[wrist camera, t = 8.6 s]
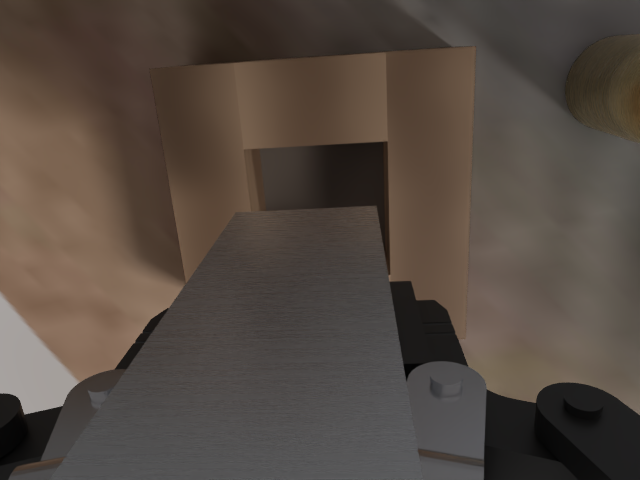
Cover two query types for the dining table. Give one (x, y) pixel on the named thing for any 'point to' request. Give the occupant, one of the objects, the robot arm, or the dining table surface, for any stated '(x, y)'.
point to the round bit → (607, 86)
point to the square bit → (266, 365)
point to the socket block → (330, 152)
